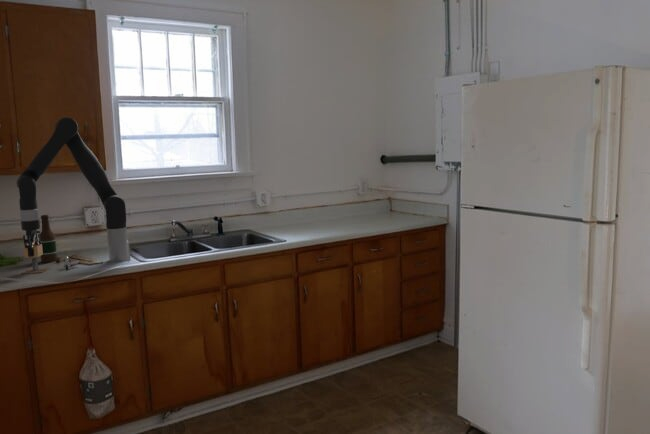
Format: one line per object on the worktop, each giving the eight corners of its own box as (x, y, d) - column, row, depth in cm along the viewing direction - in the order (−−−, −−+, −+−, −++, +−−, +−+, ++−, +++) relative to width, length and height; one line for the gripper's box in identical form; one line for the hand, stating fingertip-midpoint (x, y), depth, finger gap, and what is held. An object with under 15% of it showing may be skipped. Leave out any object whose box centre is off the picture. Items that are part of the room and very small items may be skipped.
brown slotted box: (29, 254, 250) (28, 244, 249) (42, 254, 251) (41, 243, 250) (24, 257, 244) (23, 246, 244) (38, 256, 245) (37, 246, 244)
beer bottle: (38, 261, 275) (33, 215, 272) (54, 258, 280) (50, 213, 277) (43, 263, 269) (38, 216, 266) (60, 261, 275) (55, 214, 271)
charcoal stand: (68, 268, 257) (66, 255, 256) (79, 269, 254) (77, 255, 253) (56, 271, 250) (54, 258, 249) (67, 272, 248) (66, 259, 247)
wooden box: (29, 271, 253) (27, 257, 252) (49, 270, 254) (48, 256, 253) (21, 276, 244) (20, 261, 243) (42, 274, 245) (41, 260, 244)
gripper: (32, 220, 239) (36, 257, 241) (44, 216, 253) (48, 251, 255) (14, 221, 238) (19, 258, 240) (27, 217, 252) (31, 252, 254)
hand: (33, 254), depth 248 cm, fingers closed on brown slotted box, 6 cm apart
